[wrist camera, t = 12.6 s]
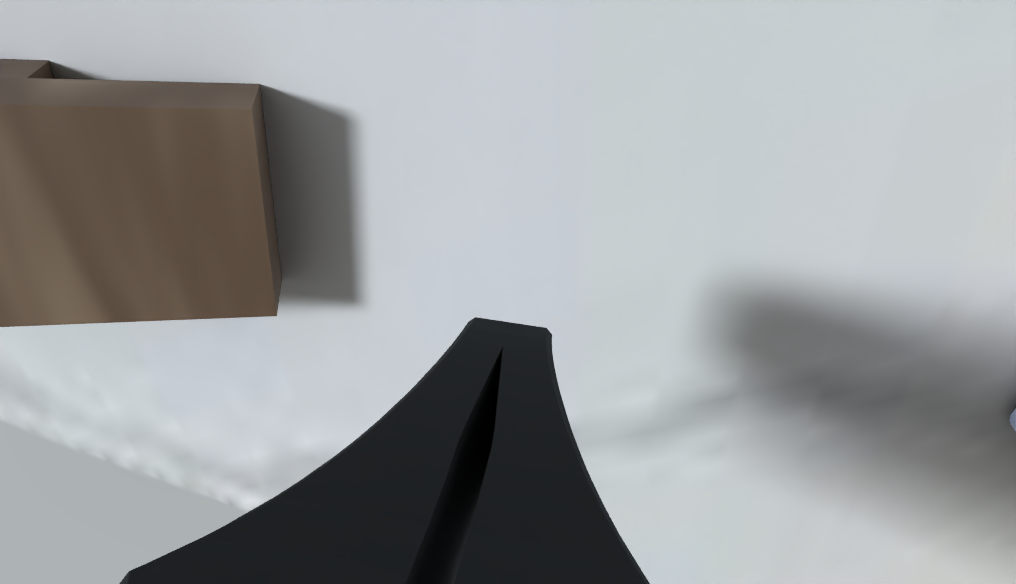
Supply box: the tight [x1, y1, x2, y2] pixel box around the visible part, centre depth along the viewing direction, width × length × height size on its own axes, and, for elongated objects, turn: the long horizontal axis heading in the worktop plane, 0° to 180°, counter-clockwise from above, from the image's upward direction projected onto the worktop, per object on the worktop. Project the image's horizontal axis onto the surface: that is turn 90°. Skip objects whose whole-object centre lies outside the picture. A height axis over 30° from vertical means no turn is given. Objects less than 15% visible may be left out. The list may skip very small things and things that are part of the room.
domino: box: [0, 77, 282, 327], centre depth 15 cm, size 2×5×8 cm
